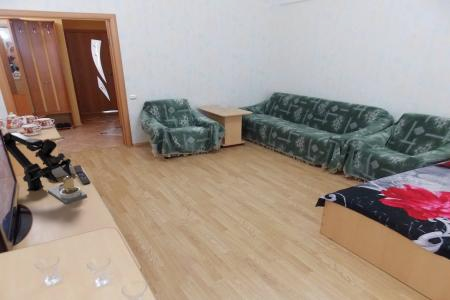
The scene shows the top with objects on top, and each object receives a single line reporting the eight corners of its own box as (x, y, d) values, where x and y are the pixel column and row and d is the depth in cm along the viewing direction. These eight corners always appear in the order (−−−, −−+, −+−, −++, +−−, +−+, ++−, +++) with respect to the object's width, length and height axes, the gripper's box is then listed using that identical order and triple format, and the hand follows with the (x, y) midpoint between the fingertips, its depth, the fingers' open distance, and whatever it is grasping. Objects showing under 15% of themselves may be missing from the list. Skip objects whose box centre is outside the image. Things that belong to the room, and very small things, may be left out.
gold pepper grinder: (63, 197, 162) (60, 179, 158) (64, 192, 168) (61, 174, 164) (76, 195, 164) (73, 177, 160) (77, 190, 170) (74, 173, 166)
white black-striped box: (73, 171, 201) (72, 160, 195) (75, 175, 198) (74, 164, 193) (46, 177, 190) (44, 165, 185) (47, 181, 188) (46, 170, 182)
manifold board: (47, 191, 171) (46, 185, 169) (68, 185, 180) (66, 178, 179) (66, 204, 158) (64, 196, 157) (86, 196, 167) (85, 189, 166)
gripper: (37, 155, 151) (56, 177, 151) (66, 145, 168) (83, 165, 168) (29, 166, 156) (48, 188, 156) (58, 155, 173) (75, 175, 173)
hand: (64, 178), depth 163 cm, fingers open, 9 cm apart
